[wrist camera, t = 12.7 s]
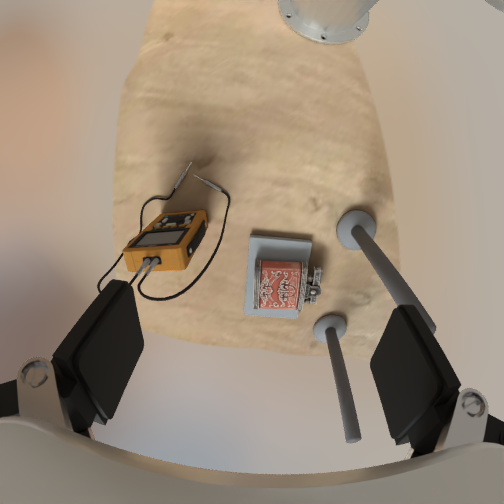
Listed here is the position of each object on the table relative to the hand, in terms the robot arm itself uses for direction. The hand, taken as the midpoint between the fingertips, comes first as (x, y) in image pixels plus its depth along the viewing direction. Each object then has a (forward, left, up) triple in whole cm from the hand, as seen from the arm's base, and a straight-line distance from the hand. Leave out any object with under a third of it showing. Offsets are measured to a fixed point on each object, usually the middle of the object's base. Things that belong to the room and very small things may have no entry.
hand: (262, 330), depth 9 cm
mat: (+16, +3, -30) cm, 34 cm away
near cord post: (+6, +14, -30) cm, 34 cm away
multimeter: (+4, -12, -31) cm, 33 cm away
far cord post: (+26, +14, -30) cm, 42 cm away
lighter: (+16, 0, -28) cm, 32 cm away
